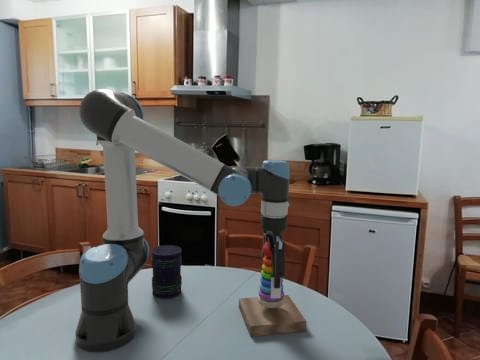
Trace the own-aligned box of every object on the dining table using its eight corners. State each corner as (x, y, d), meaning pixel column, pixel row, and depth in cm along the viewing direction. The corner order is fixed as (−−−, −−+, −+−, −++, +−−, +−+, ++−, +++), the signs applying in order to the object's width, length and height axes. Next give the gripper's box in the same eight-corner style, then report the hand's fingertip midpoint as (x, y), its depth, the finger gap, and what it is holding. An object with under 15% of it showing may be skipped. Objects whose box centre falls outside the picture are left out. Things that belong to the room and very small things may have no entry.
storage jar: (185, 286, 128) (185, 245, 126) (177, 300, 118) (177, 256, 116) (157, 285, 129) (156, 244, 127) (147, 298, 119) (146, 254, 117)
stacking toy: (284, 297, 111) (286, 237, 108) (284, 310, 103) (287, 246, 100) (258, 295, 112) (260, 236, 109) (256, 308, 104) (258, 245, 101)
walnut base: (250, 336, 99) (250, 326, 99) (238, 307, 114) (239, 298, 114) (306, 331, 102) (306, 321, 102) (287, 303, 118) (288, 294, 117)
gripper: (299, 224, 94) (295, 307, 98) (276, 206, 114) (273, 276, 118) (271, 225, 93) (268, 309, 96) (253, 207, 113) (251, 277, 116)
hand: (271, 291), depth 107 cm, fingers closed on stacking toy, 7 cm apart
